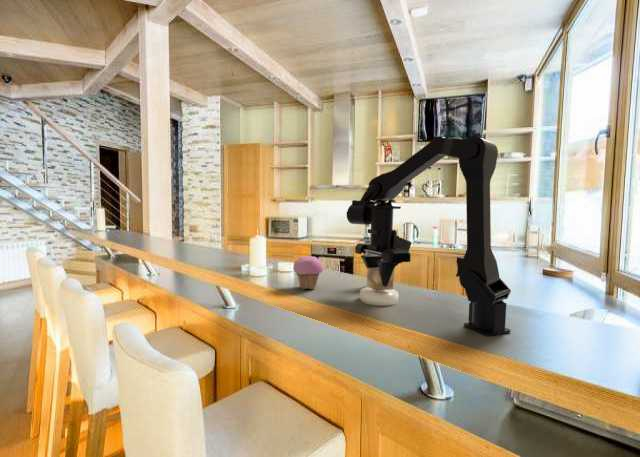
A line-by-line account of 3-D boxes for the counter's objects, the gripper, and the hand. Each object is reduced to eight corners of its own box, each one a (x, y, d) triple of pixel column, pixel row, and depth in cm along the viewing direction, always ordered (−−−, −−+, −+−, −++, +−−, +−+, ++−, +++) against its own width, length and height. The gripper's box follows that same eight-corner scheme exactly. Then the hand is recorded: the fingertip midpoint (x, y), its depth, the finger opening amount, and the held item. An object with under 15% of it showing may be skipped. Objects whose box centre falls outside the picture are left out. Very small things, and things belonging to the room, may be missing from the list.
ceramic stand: (405, 303, 88) (406, 294, 88) (372, 307, 85) (372, 297, 85) (384, 294, 98) (385, 285, 97) (353, 297, 94) (354, 288, 94)
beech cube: (392, 289, 90) (393, 270, 89) (376, 290, 88) (377, 271, 87) (382, 285, 94) (383, 267, 94) (366, 286, 92) (367, 268, 92)
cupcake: (321, 285, 107) (321, 254, 107) (323, 292, 99) (324, 258, 98) (293, 285, 107) (293, 253, 106) (292, 292, 98) (293, 257, 97)
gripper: (429, 228, 84) (427, 290, 85) (388, 224, 102) (386, 275, 102) (391, 228, 80) (389, 293, 81) (355, 224, 97) (353, 277, 98)
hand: (379, 284), depth 91 cm, fingers closed on beech cube, 5 cm apart
